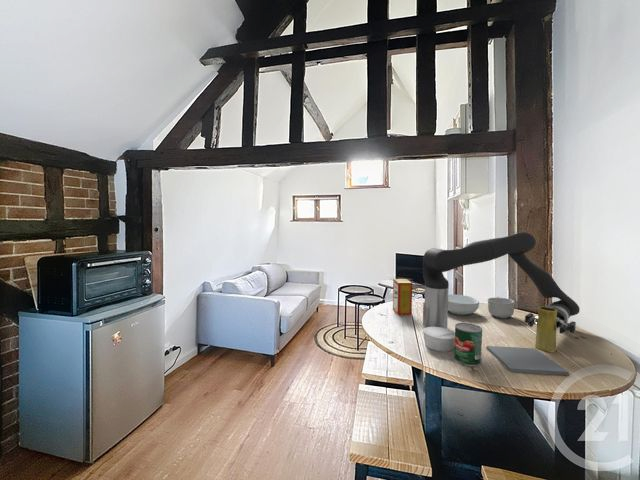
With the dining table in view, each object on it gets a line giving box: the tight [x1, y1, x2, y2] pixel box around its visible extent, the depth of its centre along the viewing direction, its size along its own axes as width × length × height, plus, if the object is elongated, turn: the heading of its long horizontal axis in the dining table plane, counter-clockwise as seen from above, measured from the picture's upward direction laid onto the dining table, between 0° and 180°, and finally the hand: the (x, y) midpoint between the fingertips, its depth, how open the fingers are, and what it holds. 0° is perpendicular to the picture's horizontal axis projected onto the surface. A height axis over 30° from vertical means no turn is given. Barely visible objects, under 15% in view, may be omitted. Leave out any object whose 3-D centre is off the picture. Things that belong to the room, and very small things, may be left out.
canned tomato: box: [453, 322, 484, 367], centre depth 94 cm, size 8×8×11 cm
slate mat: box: [486, 345, 570, 376], centre depth 94 cm, size 16×16×1 cm
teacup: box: [487, 296, 515, 319], centre depth 140 cm, size 14×11×8 cm
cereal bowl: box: [448, 293, 480, 316], centre depth 144 cm, size 17×17×7 cm
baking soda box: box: [392, 278, 413, 316], centre depth 144 cm, size 10×6×16 cm
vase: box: [534, 306, 557, 353], centre depth 103 cm, size 6×6×14 cm
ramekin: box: [422, 327, 455, 352], centre depth 105 cm, size 11×11×5 cm
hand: (545, 327), depth 102 cm, fingers open, 8 cm apart
